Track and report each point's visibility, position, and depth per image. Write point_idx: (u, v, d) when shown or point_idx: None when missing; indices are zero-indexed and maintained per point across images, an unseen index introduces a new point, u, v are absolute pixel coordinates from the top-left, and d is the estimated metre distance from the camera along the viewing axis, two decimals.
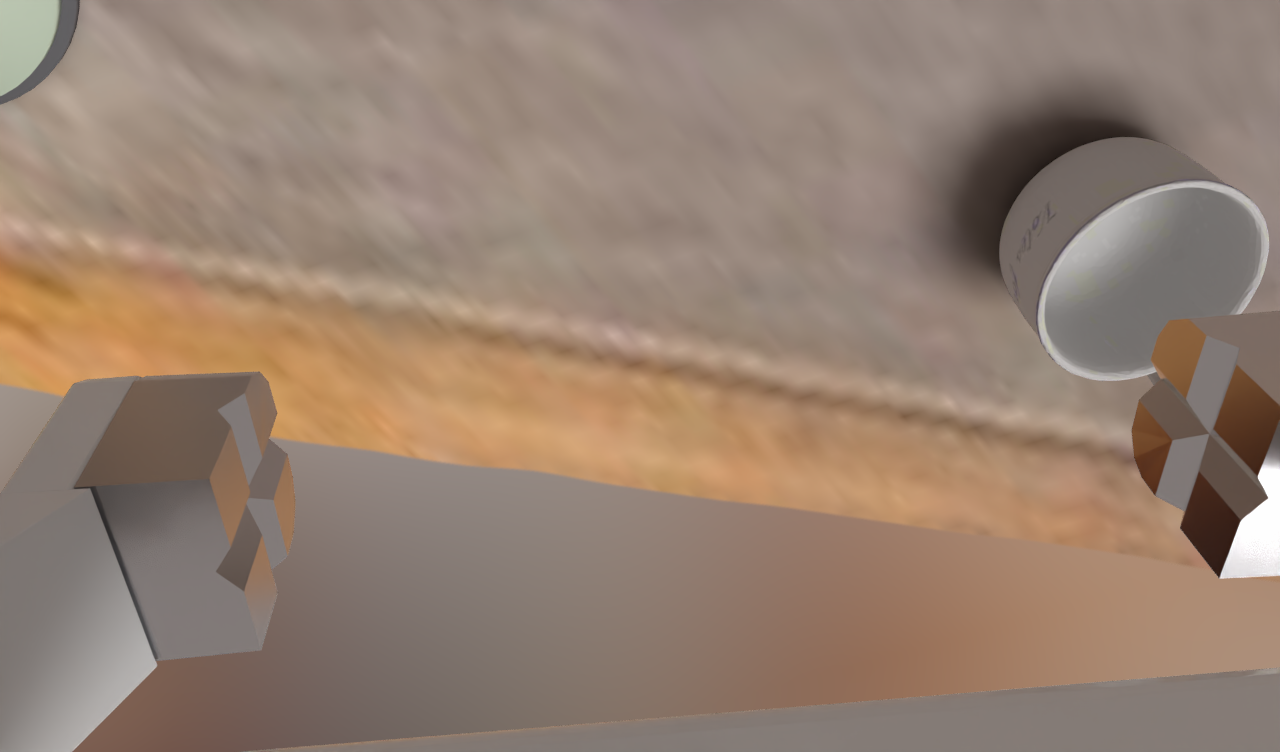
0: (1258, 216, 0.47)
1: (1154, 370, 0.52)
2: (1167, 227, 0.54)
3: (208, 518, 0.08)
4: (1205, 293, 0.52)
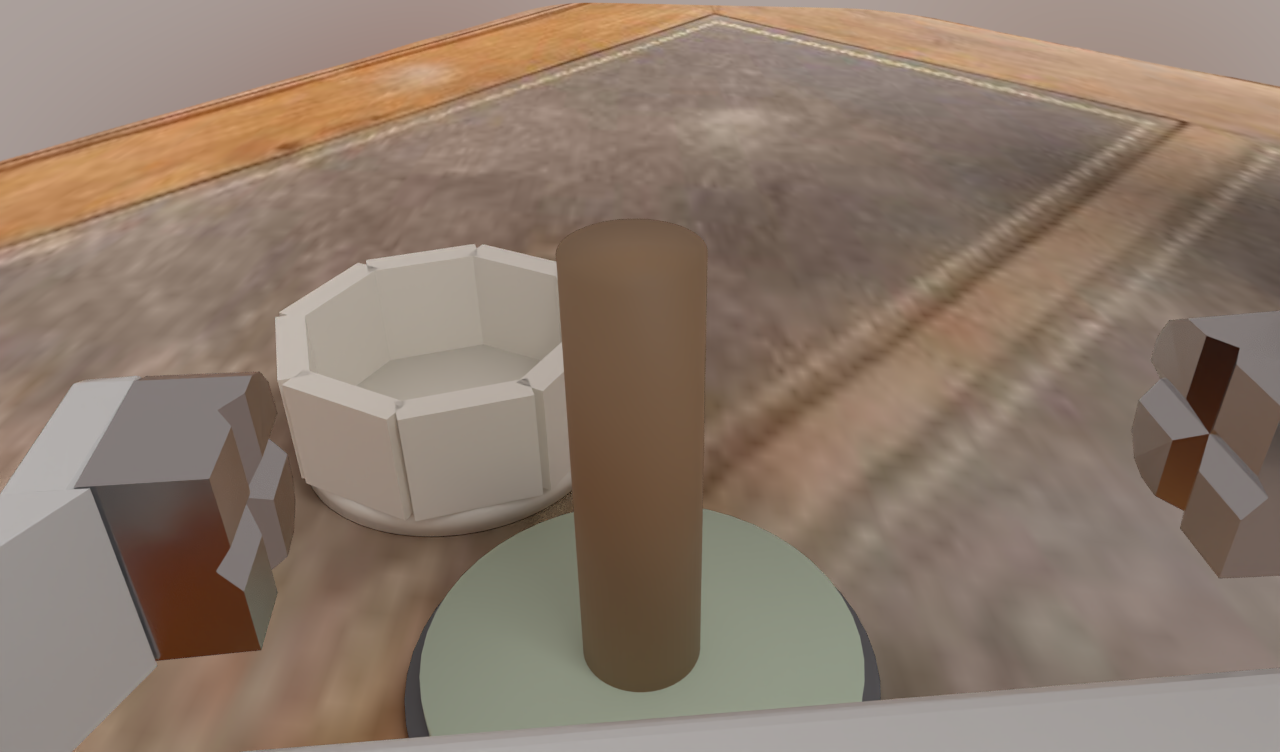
0: None
1: None
2: None
3: (209, 518, 0.08)
4: None
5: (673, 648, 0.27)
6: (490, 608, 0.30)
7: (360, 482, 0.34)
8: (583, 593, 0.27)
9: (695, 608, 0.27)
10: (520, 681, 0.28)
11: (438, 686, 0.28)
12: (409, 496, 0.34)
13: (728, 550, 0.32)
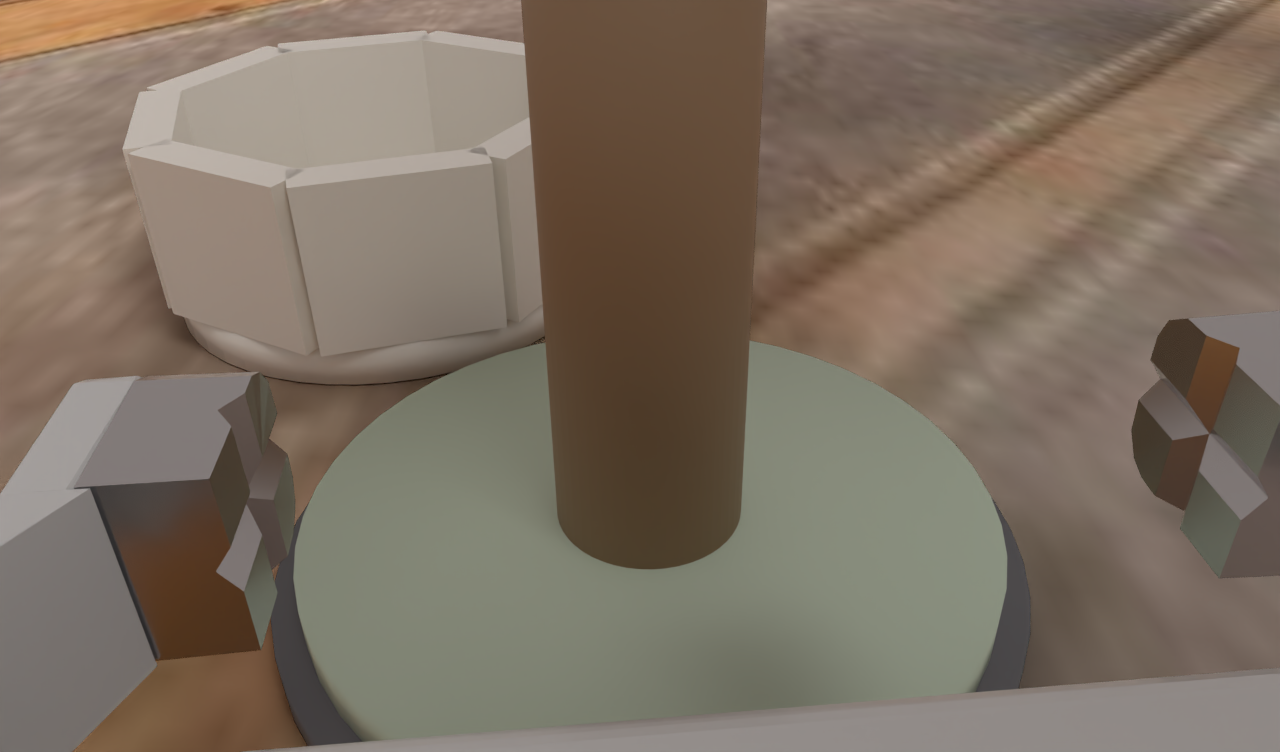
0: None
1: None
2: None
3: (208, 518, 0.08)
4: None
5: (702, 493, 0.17)
6: (417, 457, 0.20)
7: (242, 300, 0.24)
8: (554, 402, 0.17)
9: (737, 429, 0.17)
10: (456, 553, 0.18)
11: (323, 561, 0.17)
12: (312, 320, 0.24)
13: (777, 386, 0.22)
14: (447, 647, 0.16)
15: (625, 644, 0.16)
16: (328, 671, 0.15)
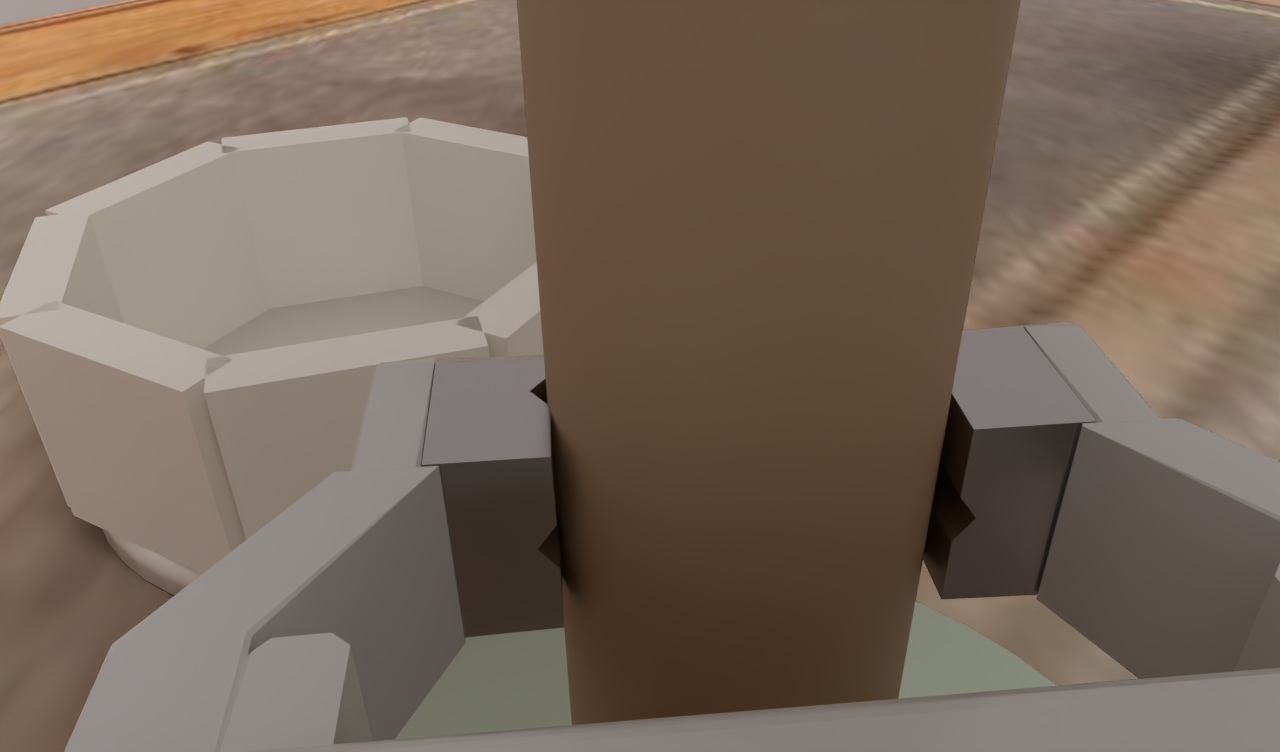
0: None
1: None
2: None
3: (542, 496, 0.08)
4: None
5: None
6: None
7: (157, 516, 0.18)
8: None
9: None
10: None
11: None
12: None
13: None
14: None
15: None
16: None
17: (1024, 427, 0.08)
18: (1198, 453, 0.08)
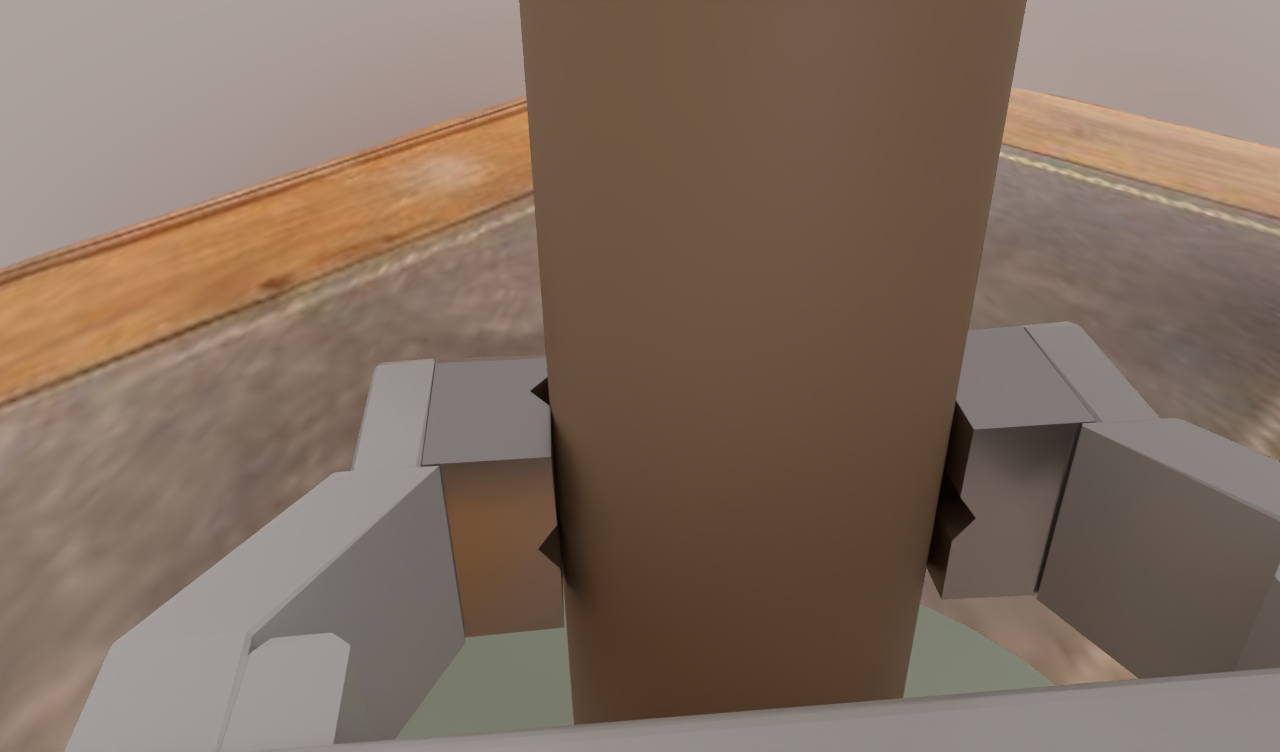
0: None
1: None
2: None
3: (542, 496, 0.08)
4: None
5: None
6: None
7: None
8: None
9: None
10: None
11: None
12: None
13: None
14: None
15: None
16: None
17: (1024, 427, 0.08)
18: (1199, 455, 0.08)
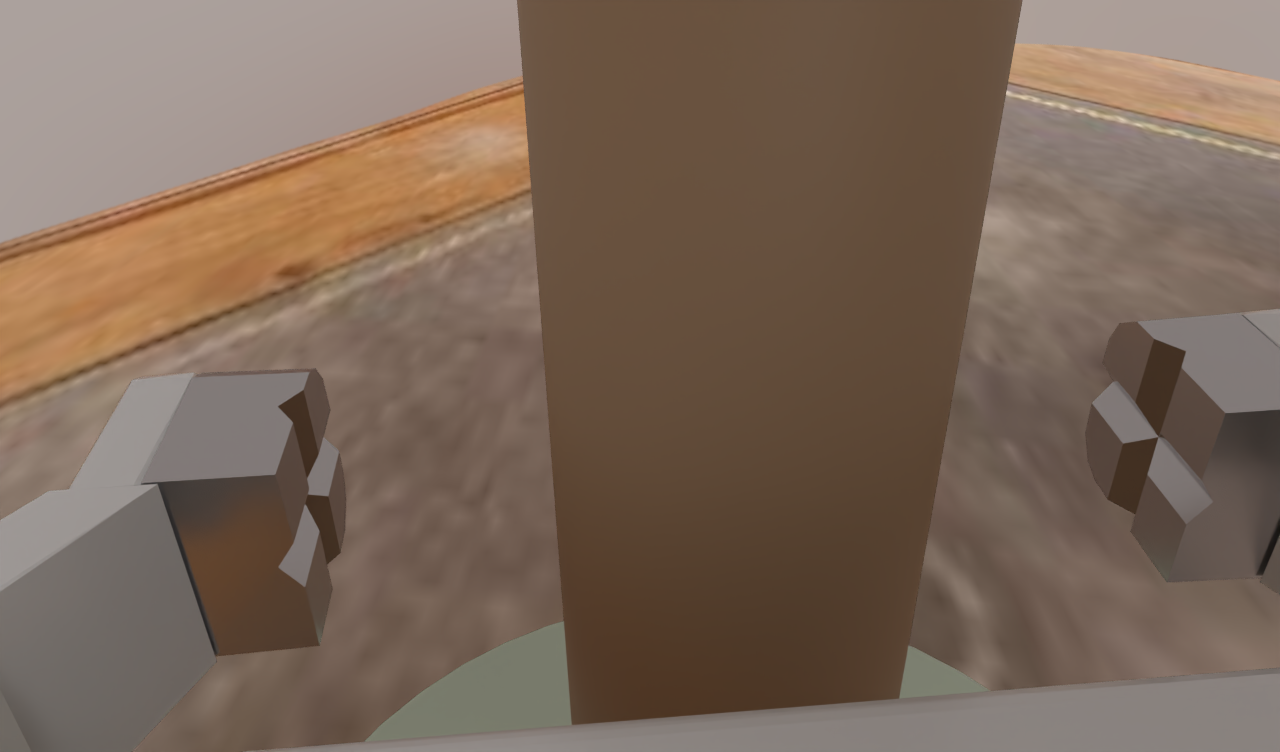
0: None
1: None
2: None
3: (273, 514, 0.08)
4: None
5: None
6: None
7: None
8: None
9: None
10: None
11: None
12: None
13: None
14: None
15: None
16: None
17: (1272, 411, 0.08)
18: None
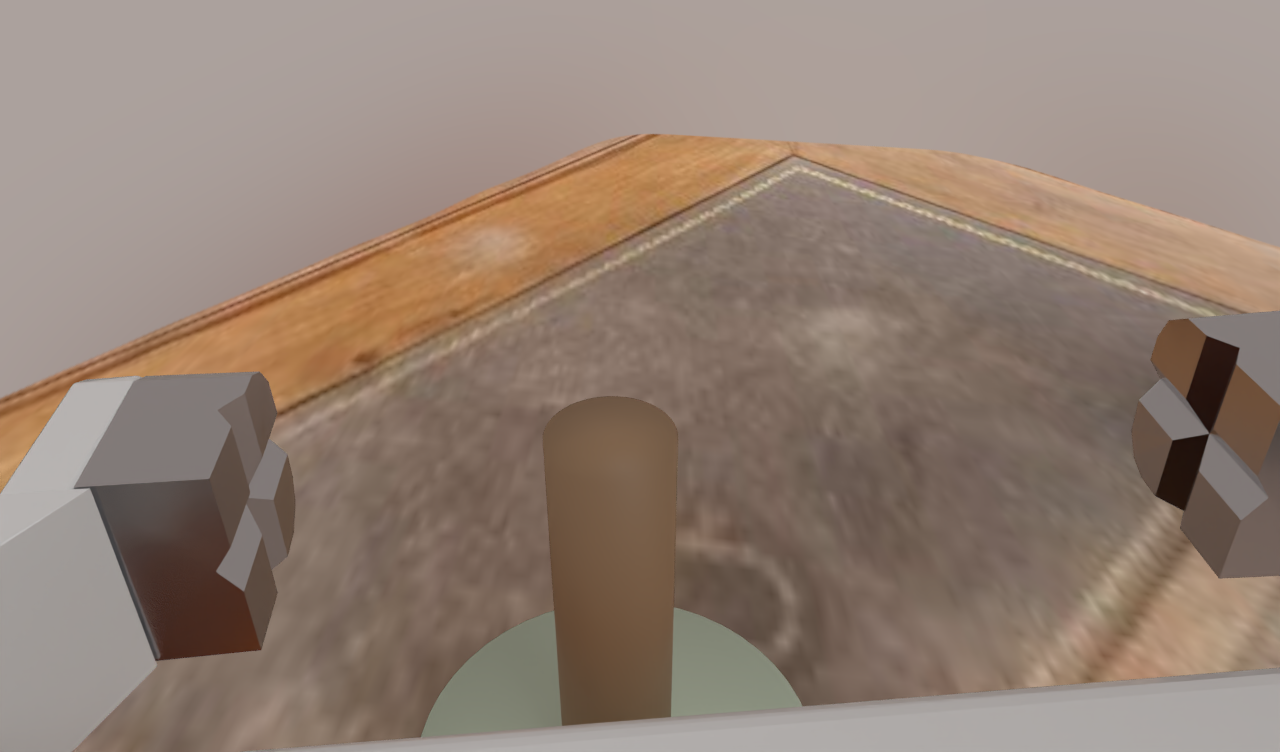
0: None
1: None
2: None
3: (208, 518, 0.08)
4: None
5: None
6: (479, 710, 0.33)
7: None
8: (564, 711, 0.30)
9: None
10: None
11: None
12: None
13: (697, 651, 0.35)
14: None
15: None
16: None
17: None
18: None
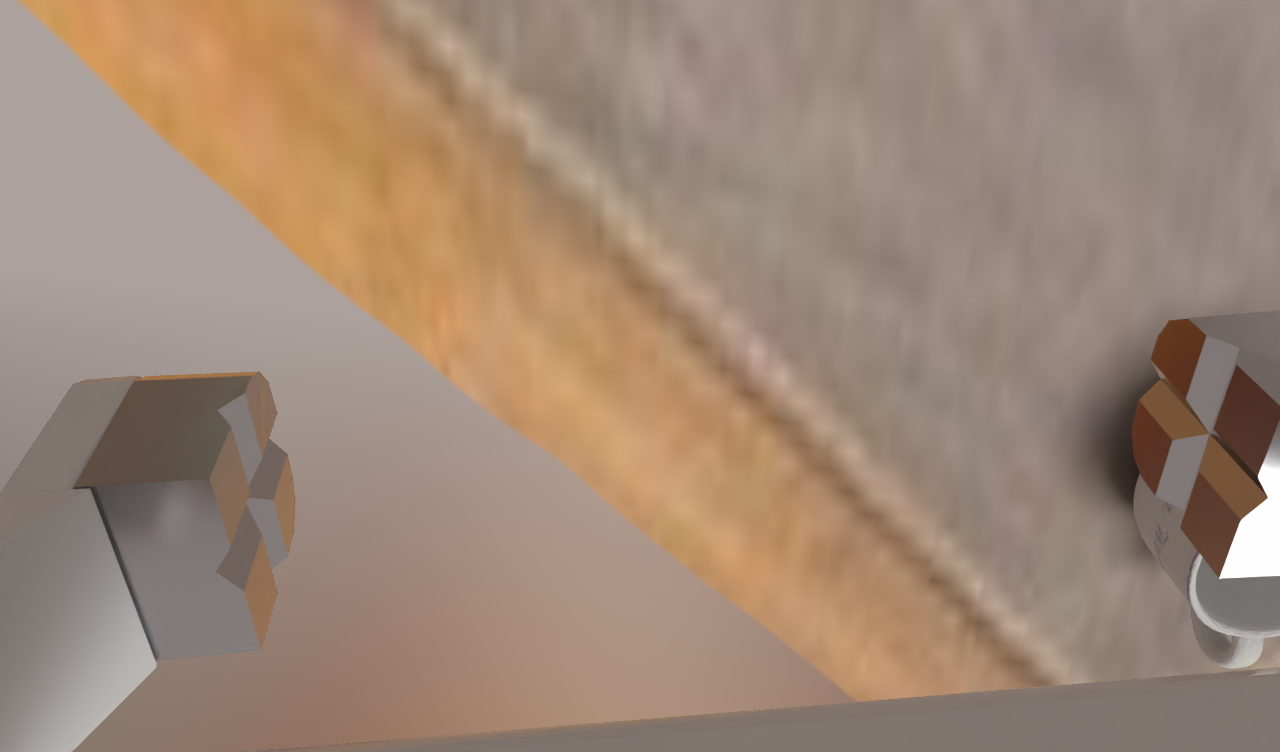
0: None
1: (1244, 635, 0.51)
2: None
3: (208, 518, 0.08)
4: None
5: None
6: None
7: None
8: None
9: None
10: None
11: None
12: None
13: None
14: None
15: None
16: None
17: None
18: None
